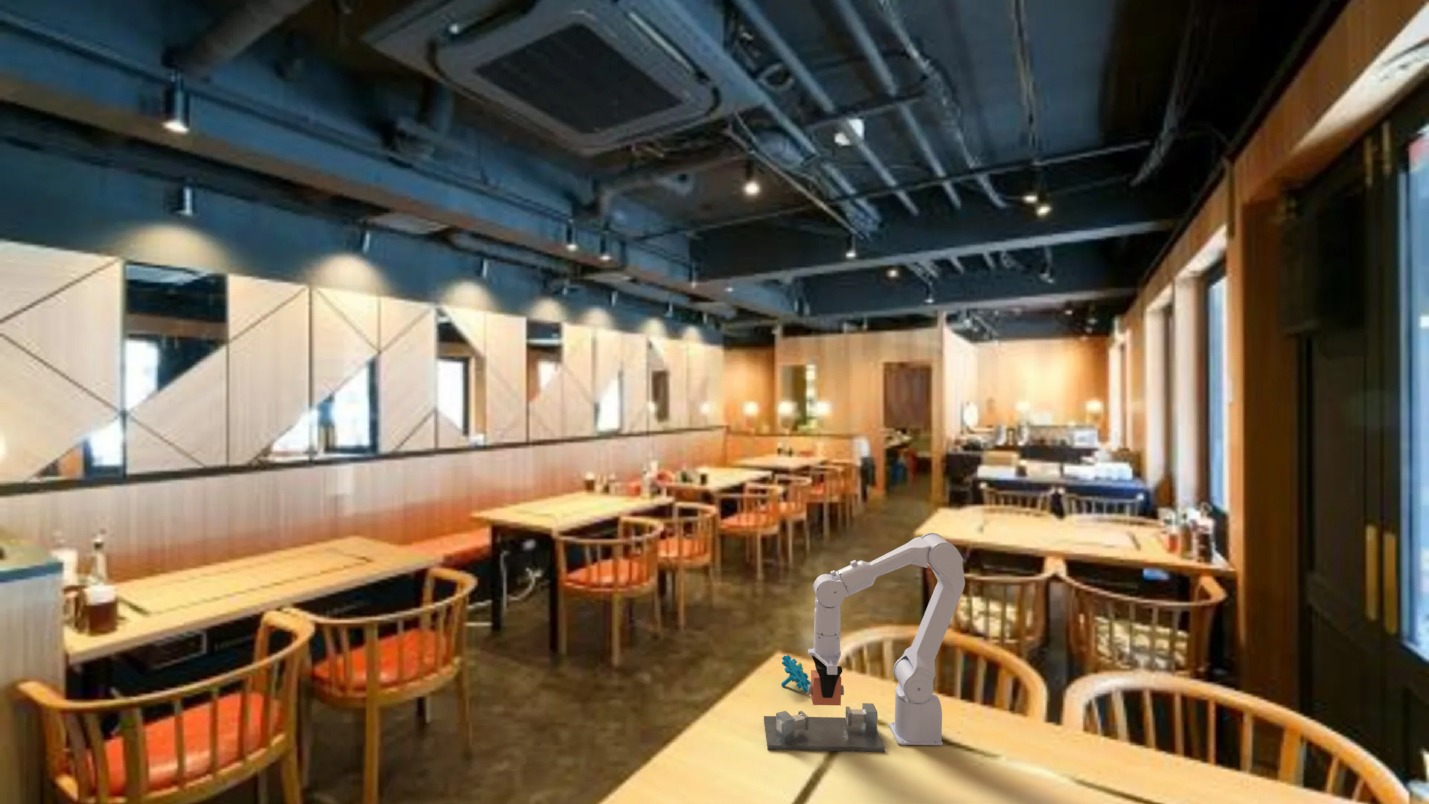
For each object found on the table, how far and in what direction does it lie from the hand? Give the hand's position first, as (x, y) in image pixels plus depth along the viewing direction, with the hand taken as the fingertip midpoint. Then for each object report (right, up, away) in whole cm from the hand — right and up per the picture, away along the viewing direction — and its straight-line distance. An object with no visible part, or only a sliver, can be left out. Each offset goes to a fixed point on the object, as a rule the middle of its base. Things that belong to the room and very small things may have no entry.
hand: (825, 692), depth 137 cm
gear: (-4, -9, +21) cm, 23 cm away
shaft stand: (-1, -9, -1) cm, 9 cm away
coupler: (0, -2, 0) cm, 2 cm away
